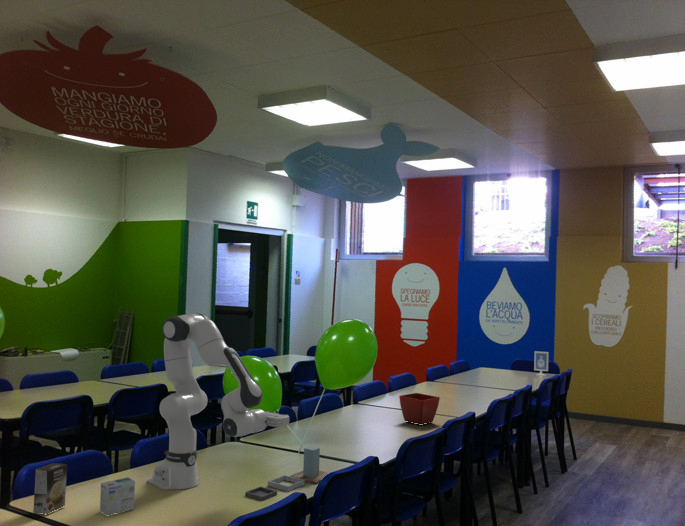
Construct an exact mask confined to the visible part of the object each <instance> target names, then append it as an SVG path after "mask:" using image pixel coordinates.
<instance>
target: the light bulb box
mask: <svg viewBox="0 0 685 526" xmlns="http://www.w3.org/2000/svg"><path fill="white" fill-rule="evenodd" d="M135 490H136V481H135V480H134V479H131V478H130V477H128V476H126V477H122V478H117V479H114V480H109V481H104V482H100V500H99V502H100V503H99V512H100V511H101V512H103V513H104V514H106V515H111V514H114V513H119V512H123V511H127V512H129V511H128V510H131V511H133V510H132V509H134V510H135V496H136V495H135V494H136V493H135V492H136V491H135ZM101 512H100V513H101ZM103 513H102V514H103ZM123 513H124V512H123ZM104 514H103V515H104ZM119 514H120V513H119ZM111 516H112V515H111Z"/></svg>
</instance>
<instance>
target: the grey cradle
mask: <svg viewBox="0 0 685 526" xmlns="http://www.w3.org/2000/svg"><path fill="white" fill-rule="evenodd" d="M283 481H287V482H290V481H291V483H292V484H290V485H286V484H282V483H280V482H283ZM304 485H305V481H304V480H303V479H299V478H295V477H291V475H286V474H284V475H280V476H278V477H276V478H273V479H271V480H268V481H267V486H268V487H271V488H275V489H278V490H282V491H286V492H290V491H292V490H295V489H297V488H299V487H303V486H304Z"/></svg>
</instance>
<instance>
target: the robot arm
mask: <svg viewBox="0 0 685 526" xmlns="http://www.w3.org/2000/svg"><path fill="white" fill-rule="evenodd" d="M162 334H163V336H164V337H165V338H164V341H163V358H164V366H165V374H166V379H167V380H168V381H169V383H171V384H172V386H173V387H174V390H175V393H174V392H173V393H170V394H169V395H167V396H166V397H164V398H163V399H162V400H161V401H160V403H159V413H160V415H161V417H162V418H163V419H164V420H165V422H166V425H167V429H168V435H169V437H168V438H169V439H168V440H169V441H168V450H165V451H164V455H166V456H165V458H164V459H163V460H162V461H161V462H160V463H158V464H156V466H155V467H154V469H153V475H152V476H150V477H148V478H147V480H146V482H147V483H149V484H151V485H153V486H155V487H157V488H160V489H161V490H164V491H167V490H168V491H169V490H185V489H187V490H188V489H191V488H194V487H196V486H198V485H199V480H200V477H199V476H198V461H197V458H198V452H197V451H198V450H197V430H196V428H194V427H193V424H192V421H191V416H194V415H197V414H199V413H201V412H202V411H203V410H204V409H205V408H206V407H207V405H208V402H209V401H208V400H209V399H208V396H207V394H206V392H205V391H204V390H202V389H201V387H200V385H199V383H198V381H197V379H196V377H195V373H194V366H193V360H192V355H191V354H192V353H191V350H190V349H191V346H190V345H191V343H192V342H194V343H195V345H196V349H197V351H198V354H199V356H200V359H202V361H203V362H204V363H205V364H207V365H209V366H213V367H214V366H226V367H228V368H229V370H230V372H231V373H232V375H233V376H234V378H235V379H236V381H237V383H238V387H236V388H234V390H231V391H230V392H228V393H227V394H226V395H223V397H222V398H221V399H220V407H221V412H222V415H223V421H222V430H223V431H224V433H225V434H226V435H227V436H229V437H237V438H238V437H243V436H248V435H249V434H255V433H258V432H261V431H264V430H265V429H266V428H267V427H269V426H270V427H273V428H279V427H280V428H281V427H286V426H289V425H290V416H289V414H280V413H275V412H271V411H269V410H268V411H265V410H263V409H261V408H257V409H253V408H254V407H257V406H259V405H260V404H261V402H262V399H263V390H262V387H261V386H260V385H259V384H258V383H257V382H256V380H255V379H254V378H253V376H252V375H251V373H250V372H249V370H248V368H247V366H246V365H245V363H244V362H243V360H242V358H241V357H240V355H239V354H238V352H237V351H236V350H235V349H234V348H233V347H229V346H228V345H227V344H226V342H225V340H224V337H223V336H222V334H221V332H220V330H219V328H218V326H217V325H216V323H215V322H214V321H213V320H211V319H210V318H209V317H208V316H207V315H205V314H204V313H185V314H182V315H181V314H180V315H174V316H171V317H168V318H167V319H165V321H163V324H162Z"/></svg>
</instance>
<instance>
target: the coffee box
mask: <svg viewBox="0 0 685 526" xmlns="http://www.w3.org/2000/svg"><path fill="white" fill-rule="evenodd" d="M67 472H68V464H66V463H61V462H60V463H57V462H53V463H49V464H47V465H44V466H40V467H38V468H35V476H34V477H35V479H34V491H33V492H34V493H33V494H34V495H33V496H34V497H33V510H32V513H33V512H34V513H43V514H45V513H46V514H48V513H50V512H52V511H54V510H57V509H59V508H61V507H63V506H66V495H67V494H66V491H67V490H66V489H67V474H68V473H67ZM34 513H33V514H34Z"/></svg>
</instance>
